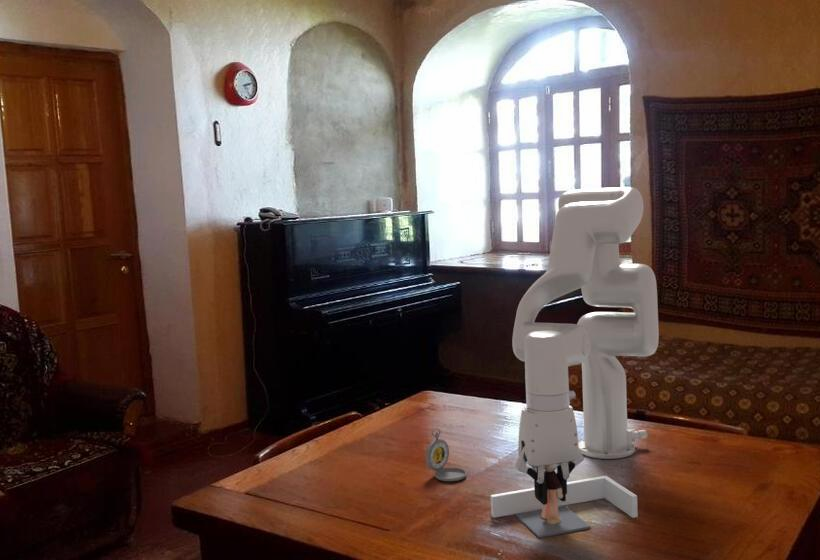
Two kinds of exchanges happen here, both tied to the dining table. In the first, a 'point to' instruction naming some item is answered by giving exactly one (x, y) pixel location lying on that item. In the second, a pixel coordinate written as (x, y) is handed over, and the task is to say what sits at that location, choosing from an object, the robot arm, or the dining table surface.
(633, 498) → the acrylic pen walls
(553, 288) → the robot arm
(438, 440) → the pocket watch
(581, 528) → the slate mat
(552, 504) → the grandmother figurine
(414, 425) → the dining table surface
